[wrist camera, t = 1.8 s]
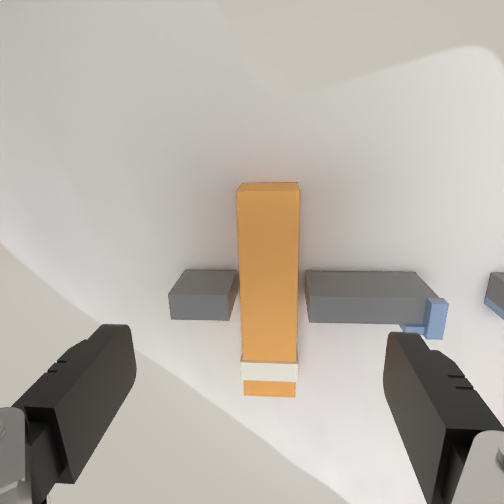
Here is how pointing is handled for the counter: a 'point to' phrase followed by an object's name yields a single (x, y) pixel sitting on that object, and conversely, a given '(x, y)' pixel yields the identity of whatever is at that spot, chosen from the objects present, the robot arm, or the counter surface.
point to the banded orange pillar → (268, 286)
